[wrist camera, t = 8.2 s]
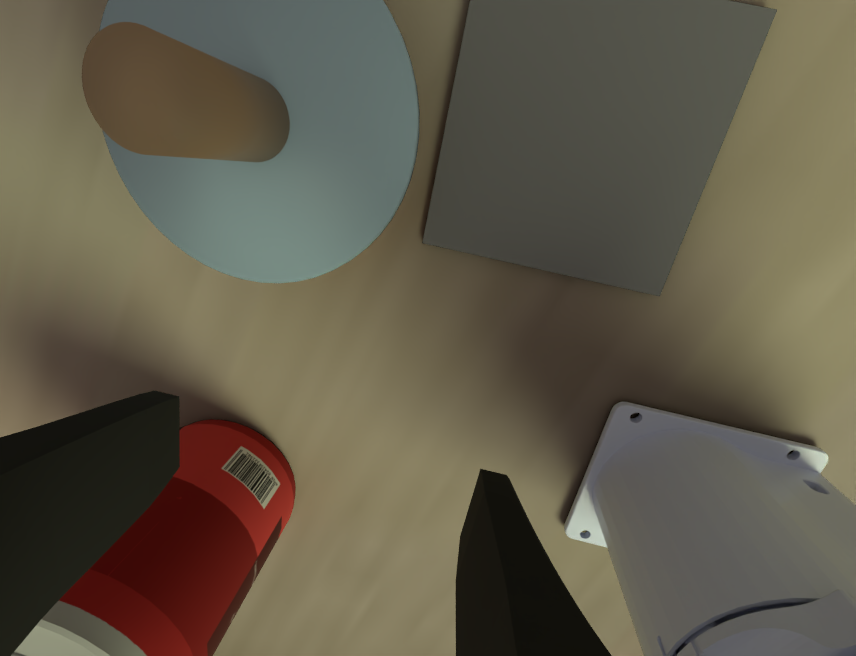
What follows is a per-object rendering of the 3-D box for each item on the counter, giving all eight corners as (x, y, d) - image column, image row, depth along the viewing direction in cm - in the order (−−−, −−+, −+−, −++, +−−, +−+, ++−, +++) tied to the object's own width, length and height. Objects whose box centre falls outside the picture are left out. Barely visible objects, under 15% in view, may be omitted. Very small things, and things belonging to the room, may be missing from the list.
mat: (769, 14, 14) (777, 9, 14) (655, 293, 18) (659, 296, 18) (479, -42, 15) (479, -48, 14) (423, 241, 18) (422, 243, 18)
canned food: (162, 400, 23) (-102, 583, 13) (306, 433, 22) (156, 650, 12) (167, 511, 25) (-47, 738, 15) (296, 542, 25) (166, 797, 15)
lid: (454, -39, 13) (435, -194, 7) (386, 309, 16) (341, 371, 11) (101, -115, 13) (-157, -313, 8) (115, 242, 17) (-51, 271, 12)
